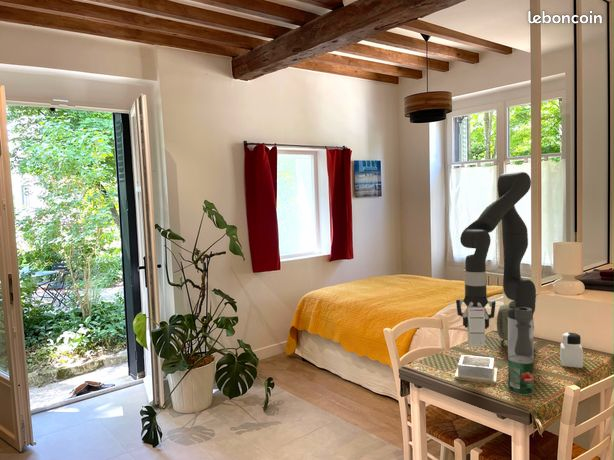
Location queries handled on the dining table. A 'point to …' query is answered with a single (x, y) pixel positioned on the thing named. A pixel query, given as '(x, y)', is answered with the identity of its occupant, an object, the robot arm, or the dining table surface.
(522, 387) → the canned tomato
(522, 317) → the candle holder
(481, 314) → the syrup box
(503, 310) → the tabletop clock
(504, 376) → the dining table surface
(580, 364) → the medicine bottle
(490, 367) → the rectangular hollow frame
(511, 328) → the robot arm
